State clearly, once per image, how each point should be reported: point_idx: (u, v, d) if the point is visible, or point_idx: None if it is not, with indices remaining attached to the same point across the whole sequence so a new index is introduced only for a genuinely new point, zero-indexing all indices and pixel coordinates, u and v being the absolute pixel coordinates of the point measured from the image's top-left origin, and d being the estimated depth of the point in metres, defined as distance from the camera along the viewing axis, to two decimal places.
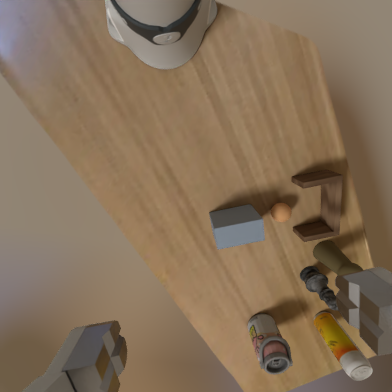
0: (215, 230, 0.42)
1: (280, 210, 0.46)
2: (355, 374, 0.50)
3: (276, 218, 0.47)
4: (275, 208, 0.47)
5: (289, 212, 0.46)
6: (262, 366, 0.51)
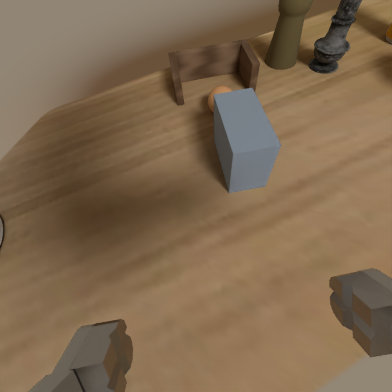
0: (236, 151, 0.21)
1: None
2: None
3: None
4: (213, 104, 0.33)
5: (216, 87, 0.33)
6: None
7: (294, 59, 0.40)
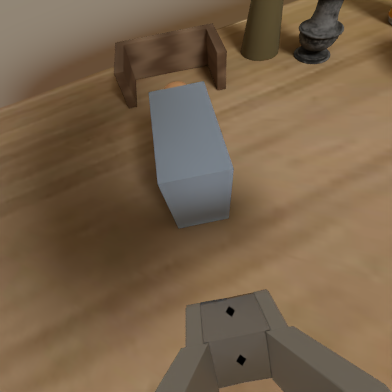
0: (163, 180, 0.14)
1: None
2: None
3: None
4: None
5: (170, 83, 0.26)
6: None
7: (275, 47, 0.32)
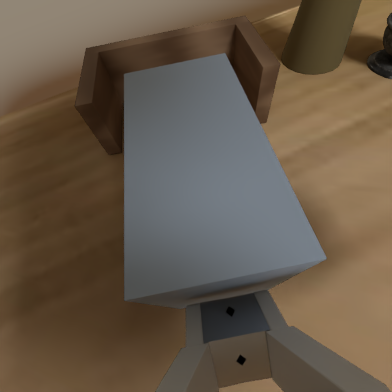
0: (141, 287, 0.05)
1: None
2: None
3: None
4: None
5: None
6: None
7: (341, 54, 0.21)
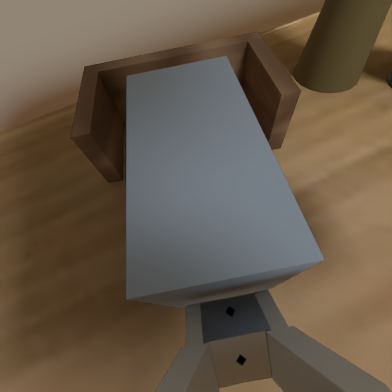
0: (143, 286, 0.05)
1: None
2: None
3: None
4: None
5: None
6: None
7: (360, 72, 0.19)
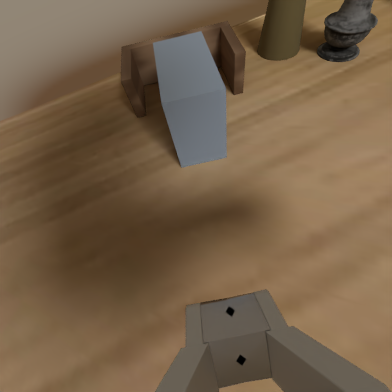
0: (166, 100, 0.16)
1: None
2: None
3: None
4: None
5: None
6: None
7: (297, 45, 0.29)
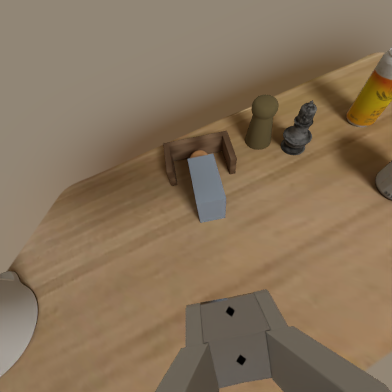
0: (198, 202, 0.34)
1: None
2: None
3: None
4: None
5: None
6: None
7: (268, 142, 0.48)
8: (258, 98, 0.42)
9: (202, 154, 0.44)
